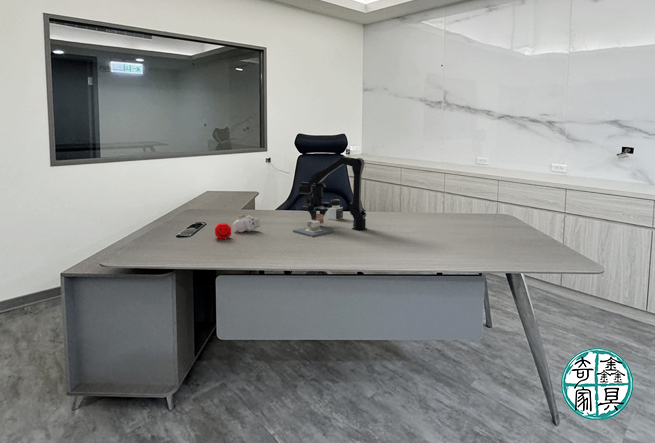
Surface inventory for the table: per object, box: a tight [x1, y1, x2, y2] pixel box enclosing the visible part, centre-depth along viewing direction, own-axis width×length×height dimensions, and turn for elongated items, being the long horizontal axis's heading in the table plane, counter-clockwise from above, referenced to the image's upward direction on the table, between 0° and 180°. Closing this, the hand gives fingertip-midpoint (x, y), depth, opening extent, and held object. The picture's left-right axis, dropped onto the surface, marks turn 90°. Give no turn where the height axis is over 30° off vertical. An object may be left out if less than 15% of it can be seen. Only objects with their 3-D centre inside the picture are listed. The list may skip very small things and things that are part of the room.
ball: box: [214, 222, 232, 240], centre depth 256 cm, size 8×8×8 cm
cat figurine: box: [232, 214, 261, 233], centre depth 272 cm, size 10×8×15 cm
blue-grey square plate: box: [292, 226, 335, 238], centre depth 271 cm, size 16×16×1 cm
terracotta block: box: [310, 213, 325, 225], centre depth 286 cm, size 5×5×5 cm
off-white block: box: [306, 219, 321, 231], centre depth 271 cm, size 5×5×5 cm
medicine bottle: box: [326, 198, 344, 221], centre depth 306 cm, size 7×7×12 cm
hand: (317, 221), depth 286 cm, fingers closed on terracotta block, 5 cm apart
